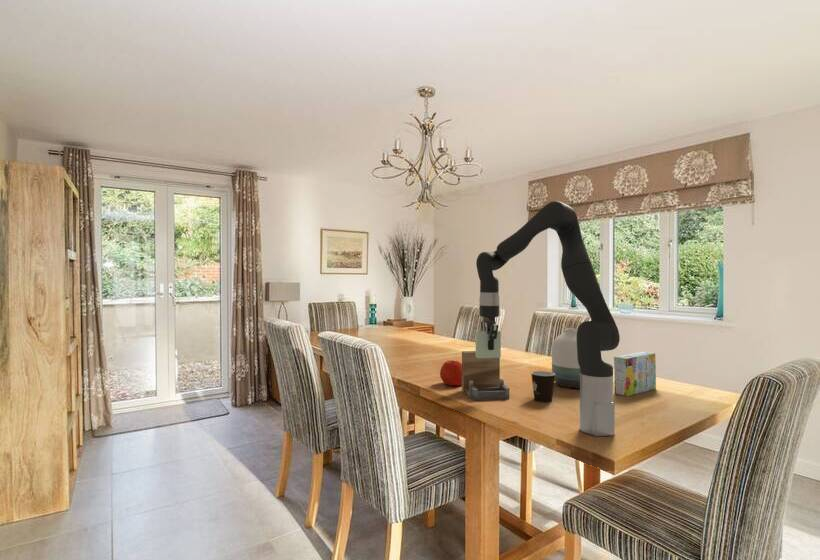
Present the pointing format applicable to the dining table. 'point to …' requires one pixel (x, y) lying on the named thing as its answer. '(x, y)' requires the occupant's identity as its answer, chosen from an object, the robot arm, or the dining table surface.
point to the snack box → (634, 373)
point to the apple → (451, 373)
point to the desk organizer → (482, 377)
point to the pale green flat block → (483, 345)
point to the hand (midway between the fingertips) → (489, 348)
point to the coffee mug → (543, 385)
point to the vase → (566, 359)
